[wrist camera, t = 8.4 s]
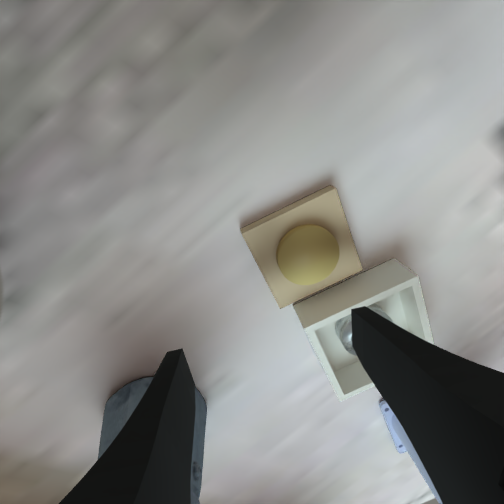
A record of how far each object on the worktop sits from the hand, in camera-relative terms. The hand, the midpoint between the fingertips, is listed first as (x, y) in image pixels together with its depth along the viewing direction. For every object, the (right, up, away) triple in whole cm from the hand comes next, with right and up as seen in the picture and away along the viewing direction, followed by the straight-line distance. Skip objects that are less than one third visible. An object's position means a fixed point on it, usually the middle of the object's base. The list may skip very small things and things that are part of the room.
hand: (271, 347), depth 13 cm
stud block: (+3, +4, +10) cm, 11 cm away
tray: (+8, -2, +14) cm, 16 cm away
